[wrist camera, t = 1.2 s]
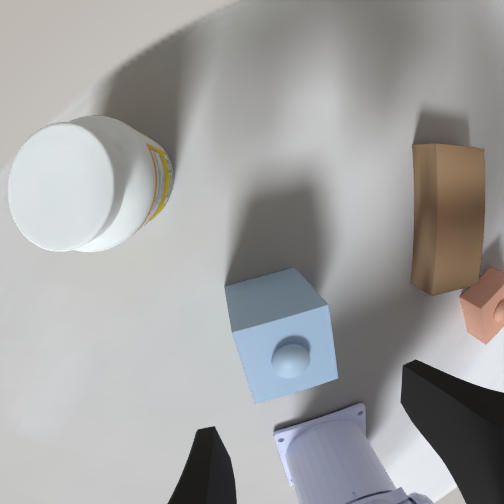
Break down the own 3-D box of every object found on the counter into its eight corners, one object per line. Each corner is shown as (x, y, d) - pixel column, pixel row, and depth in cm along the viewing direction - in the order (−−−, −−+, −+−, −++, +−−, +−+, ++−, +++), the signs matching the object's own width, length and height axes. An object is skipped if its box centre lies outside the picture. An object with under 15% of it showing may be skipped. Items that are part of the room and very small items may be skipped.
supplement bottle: (193, 182, 18) (177, 192, 9) (127, 243, 18) (62, 308, 9) (134, 115, 16) (69, 67, 7) (71, 178, 17) (-29, 190, 7)
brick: (495, 302, 24) (517, 314, 21) (466, 331, 24) (487, 346, 21) (488, 266, 23) (513, 276, 20) (458, 295, 23) (482, 309, 20)
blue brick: (306, 327, 21) (340, 382, 15) (242, 346, 21) (256, 408, 15) (294, 266, 20) (331, 308, 14) (224, 286, 20) (232, 336, 13)
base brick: (454, 272, 22) (478, 284, 19) (408, 281, 22) (431, 295, 19) (457, 148, 20) (483, 148, 17) (409, 144, 19) (435, 143, 16)
